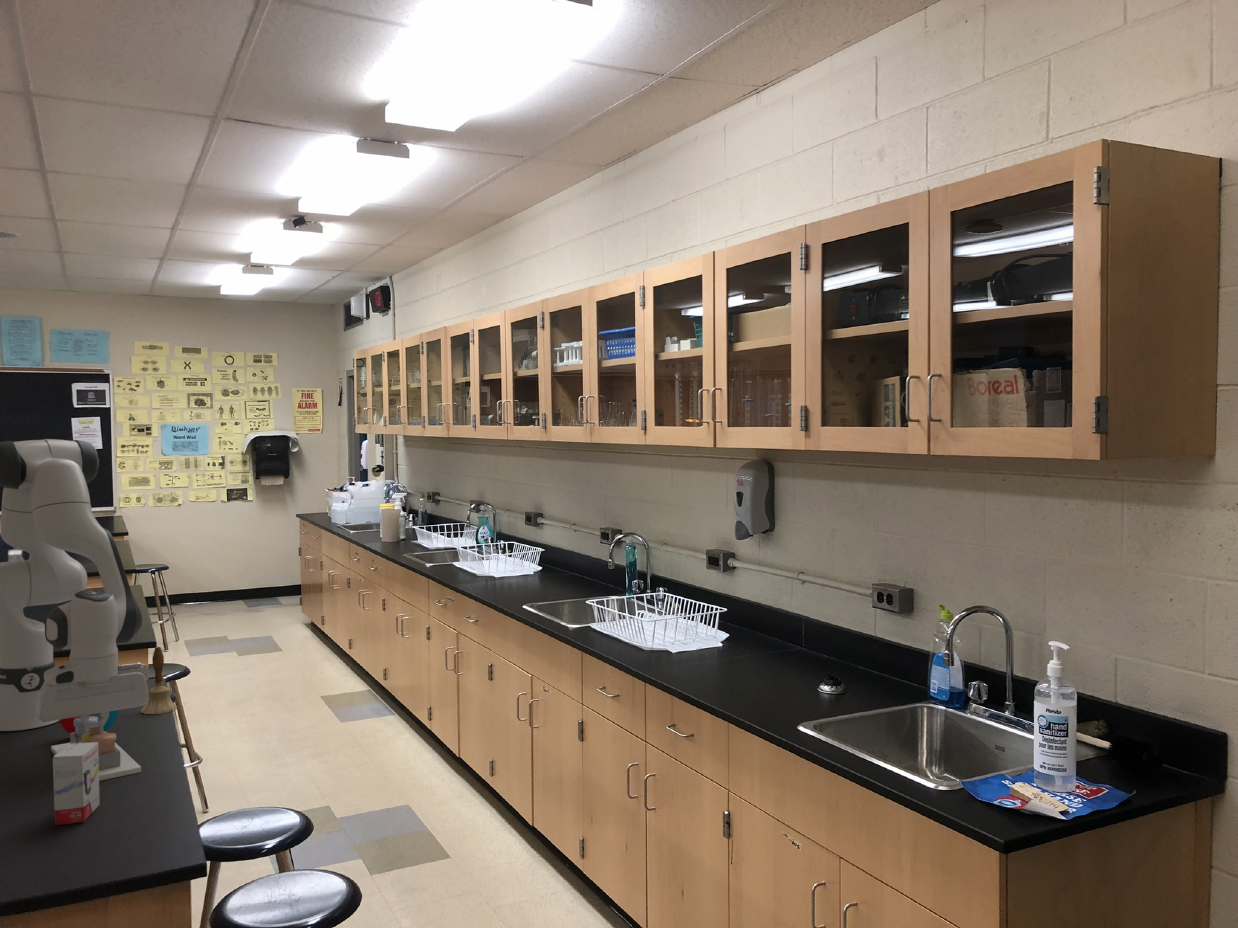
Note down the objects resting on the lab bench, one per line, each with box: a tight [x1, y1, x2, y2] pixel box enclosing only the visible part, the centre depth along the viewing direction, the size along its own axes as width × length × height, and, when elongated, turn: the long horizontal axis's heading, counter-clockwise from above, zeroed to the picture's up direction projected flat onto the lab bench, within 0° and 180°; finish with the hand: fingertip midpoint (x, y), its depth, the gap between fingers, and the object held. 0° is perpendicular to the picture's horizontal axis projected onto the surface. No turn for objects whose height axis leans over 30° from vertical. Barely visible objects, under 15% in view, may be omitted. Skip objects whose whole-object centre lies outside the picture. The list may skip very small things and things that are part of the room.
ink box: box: [52, 742, 101, 826], centre depth 160 cm, size 9×5×12 cm, turn 13°
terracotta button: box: [90, 732, 117, 755], centre depth 183 cm, size 5×5×4 cm
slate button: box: [74, 715, 99, 737], centre depth 195 cm, size 5×5×4 cm
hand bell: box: [140, 646, 178, 715], centre depth 228 cm, size 8×8×16 cm
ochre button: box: [82, 731, 108, 743], centre depth 189 cm, size 5×5×4 cm
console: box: [50, 732, 142, 782], centre depth 189 cm, size 28×11×4 cm, turn 42°
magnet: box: [59, 710, 119, 735], centre depth 206 cm, size 12×3×10 cm, turn 118°
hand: (94, 734), depth 189 cm, fingers closed, pressing on ochre button
